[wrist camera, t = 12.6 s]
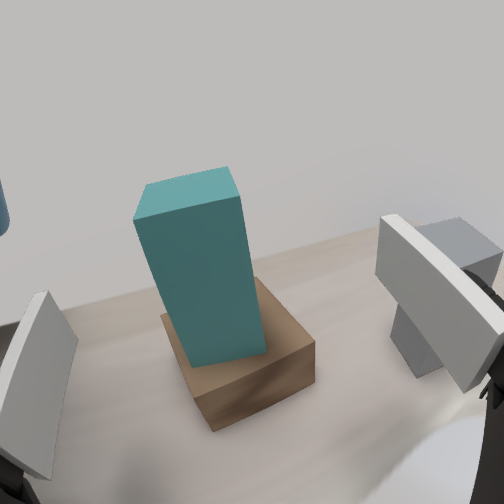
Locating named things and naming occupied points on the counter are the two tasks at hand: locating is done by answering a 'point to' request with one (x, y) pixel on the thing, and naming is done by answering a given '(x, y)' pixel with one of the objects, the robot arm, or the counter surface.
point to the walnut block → (251, 367)
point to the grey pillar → (465, 257)
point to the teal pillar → (202, 265)
